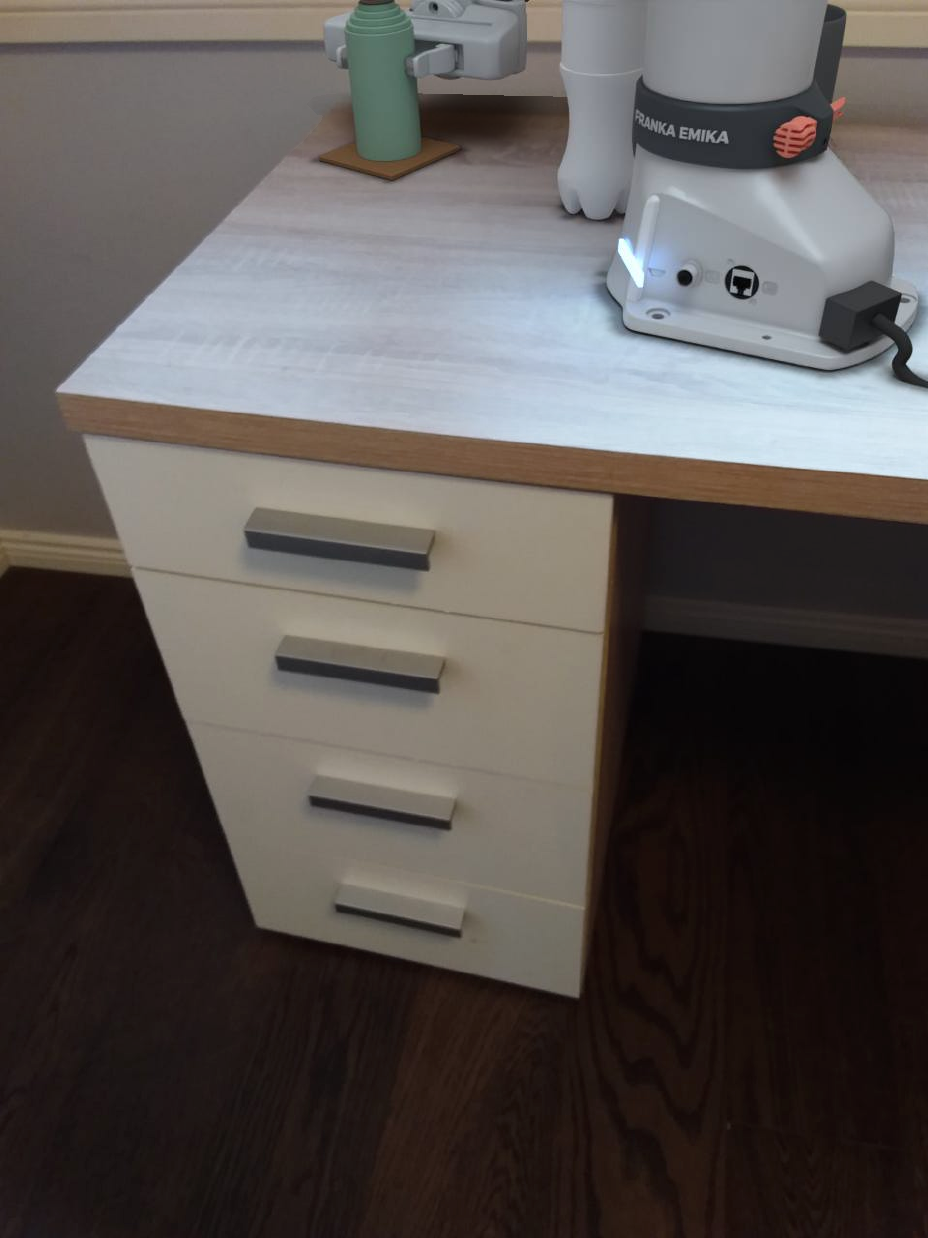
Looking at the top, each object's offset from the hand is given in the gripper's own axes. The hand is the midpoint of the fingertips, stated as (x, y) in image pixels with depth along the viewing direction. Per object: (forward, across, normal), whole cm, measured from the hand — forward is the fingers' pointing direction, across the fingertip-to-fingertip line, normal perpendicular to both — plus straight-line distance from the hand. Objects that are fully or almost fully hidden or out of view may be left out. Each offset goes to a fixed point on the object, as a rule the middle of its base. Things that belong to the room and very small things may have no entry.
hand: (376, 63), depth 95 cm
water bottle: (+4, +25, +9) cm, 26 cm away
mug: (-16, +32, +9) cm, 37 cm away
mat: (-1, 0, +8) cm, 8 cm away
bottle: (-1, 0, +8) cm, 8 cm away
